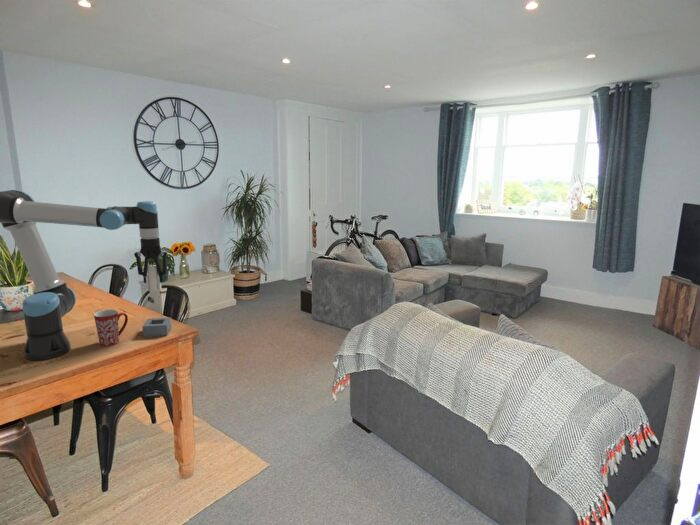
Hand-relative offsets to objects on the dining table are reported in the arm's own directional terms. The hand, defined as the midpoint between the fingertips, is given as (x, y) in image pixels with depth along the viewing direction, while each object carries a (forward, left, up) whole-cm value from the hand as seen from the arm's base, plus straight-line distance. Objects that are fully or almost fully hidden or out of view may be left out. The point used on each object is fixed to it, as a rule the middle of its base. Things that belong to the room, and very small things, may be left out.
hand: (154, 289), depth 187 cm
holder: (0, 0, -20) cm, 20 cm away
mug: (-8, +16, -20) cm, 27 cm away
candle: (0, 0, -3) cm, 3 cm away
